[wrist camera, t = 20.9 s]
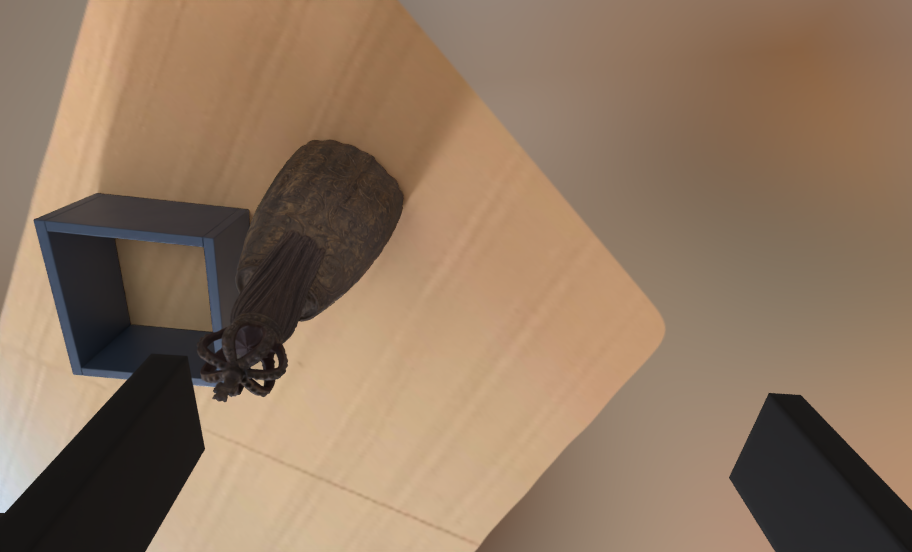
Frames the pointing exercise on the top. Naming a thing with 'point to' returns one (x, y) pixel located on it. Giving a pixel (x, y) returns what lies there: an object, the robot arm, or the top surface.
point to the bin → (100, 283)
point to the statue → (300, 258)
